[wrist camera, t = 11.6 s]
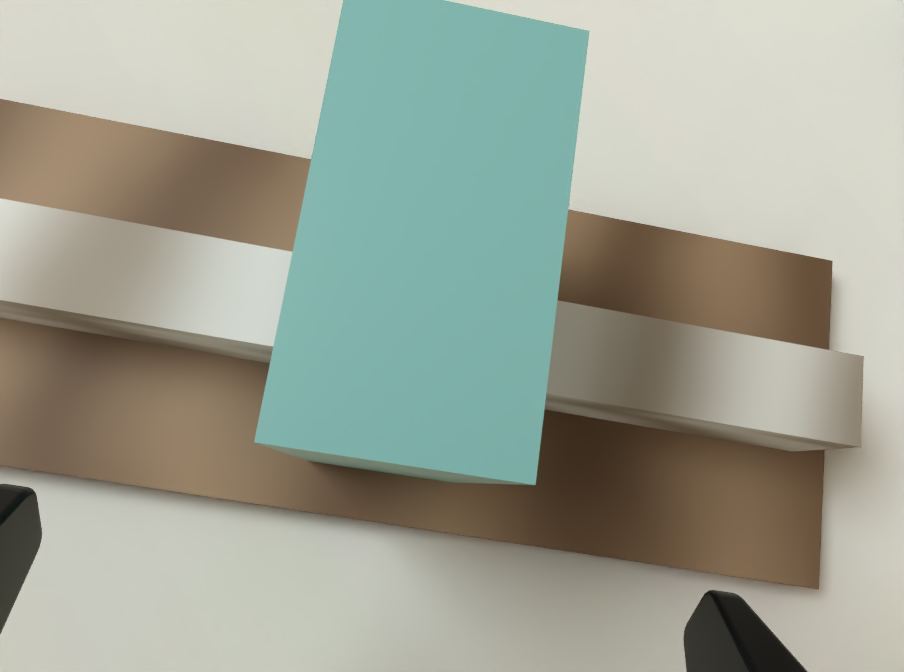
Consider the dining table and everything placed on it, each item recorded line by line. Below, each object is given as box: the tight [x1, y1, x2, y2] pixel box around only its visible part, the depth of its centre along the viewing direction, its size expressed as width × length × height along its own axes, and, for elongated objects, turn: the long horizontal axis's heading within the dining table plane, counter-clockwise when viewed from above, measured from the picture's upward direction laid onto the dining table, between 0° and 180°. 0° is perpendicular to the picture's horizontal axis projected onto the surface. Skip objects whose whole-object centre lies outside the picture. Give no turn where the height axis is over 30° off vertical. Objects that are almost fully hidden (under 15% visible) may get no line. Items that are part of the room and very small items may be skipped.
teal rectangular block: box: [254, 0, 589, 485], centre depth 16 cm, size 7×4×10 cm, turn 170°
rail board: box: [0, 99, 864, 589], centre depth 20 cm, size 26×10×4 cm, turn 81°
